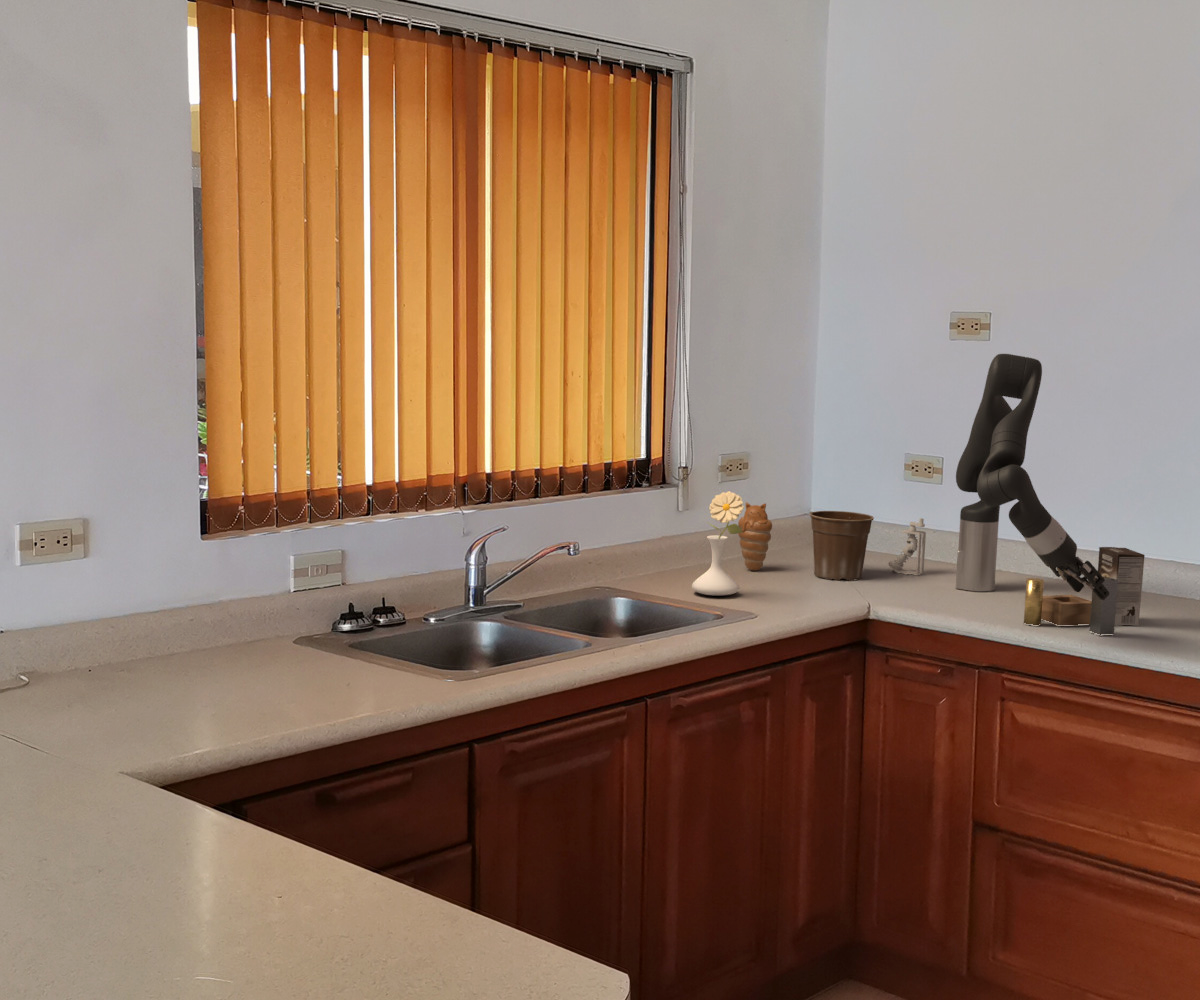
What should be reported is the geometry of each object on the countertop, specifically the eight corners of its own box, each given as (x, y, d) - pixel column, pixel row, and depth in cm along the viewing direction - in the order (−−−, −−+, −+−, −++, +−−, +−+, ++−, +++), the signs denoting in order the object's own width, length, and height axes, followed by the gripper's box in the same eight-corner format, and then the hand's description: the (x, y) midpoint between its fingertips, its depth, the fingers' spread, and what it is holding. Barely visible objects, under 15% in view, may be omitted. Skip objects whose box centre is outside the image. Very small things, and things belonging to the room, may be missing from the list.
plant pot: (880, 575, 342) (883, 514, 340) (856, 585, 329) (860, 521, 327) (821, 568, 351) (824, 508, 349) (796, 577, 338) (799, 515, 335)
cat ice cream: (735, 572, 343) (737, 503, 340) (738, 567, 350) (741, 500, 348) (769, 574, 341) (772, 505, 338) (772, 569, 348) (774, 501, 346)
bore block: (1059, 626, 287) (1061, 604, 286) (1035, 617, 295) (1036, 596, 294) (1095, 625, 289) (1096, 602, 288) (1070, 616, 298) (1071, 594, 297)
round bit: (1023, 625, 287) (1026, 580, 286) (1023, 622, 291) (1026, 577, 289) (1041, 626, 286) (1044, 581, 285) (1040, 623, 290) (1043, 578, 288)
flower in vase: (681, 593, 313) (684, 489, 310) (711, 587, 321) (714, 486, 318) (725, 602, 304) (729, 495, 301) (754, 595, 313) (758, 491, 309)
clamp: (892, 569, 352) (895, 514, 350) (926, 574, 347) (929, 517, 345) (885, 571, 349) (888, 515, 347) (919, 576, 343) (923, 519, 341)
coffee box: (1093, 617, 298) (1098, 546, 296) (1120, 617, 298) (1125, 546, 296) (1111, 626, 289) (1117, 553, 287) (1140, 626, 289) (1145, 553, 287)
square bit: (1099, 636, 278) (1103, 580, 277) (1089, 632, 282) (1093, 577, 280) (1113, 635, 279) (1117, 580, 278) (1103, 631, 283) (1107, 576, 281)
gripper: (1082, 533, 268) (1126, 586, 272) (1041, 522, 281) (1083, 574, 286) (1057, 559, 267) (1102, 612, 271) (1017, 547, 280) (1060, 598, 285)
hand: (1092, 592), depth 279 cm, fingers open, 8 cm apart
